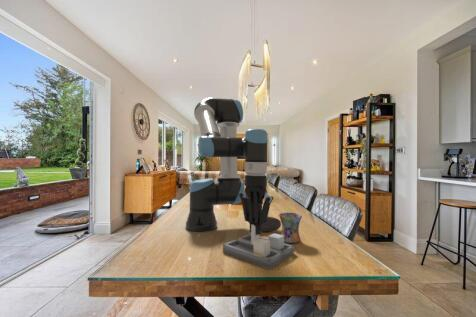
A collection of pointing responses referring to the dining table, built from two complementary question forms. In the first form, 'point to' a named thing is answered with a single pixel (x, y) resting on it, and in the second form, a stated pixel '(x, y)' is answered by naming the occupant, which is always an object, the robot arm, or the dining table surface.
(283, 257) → the gray divided tray
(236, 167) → the robot arm
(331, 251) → the dining table surface
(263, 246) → the off-white cube
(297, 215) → the mug
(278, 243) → the pale grey cube
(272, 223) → the perforated stone tool
